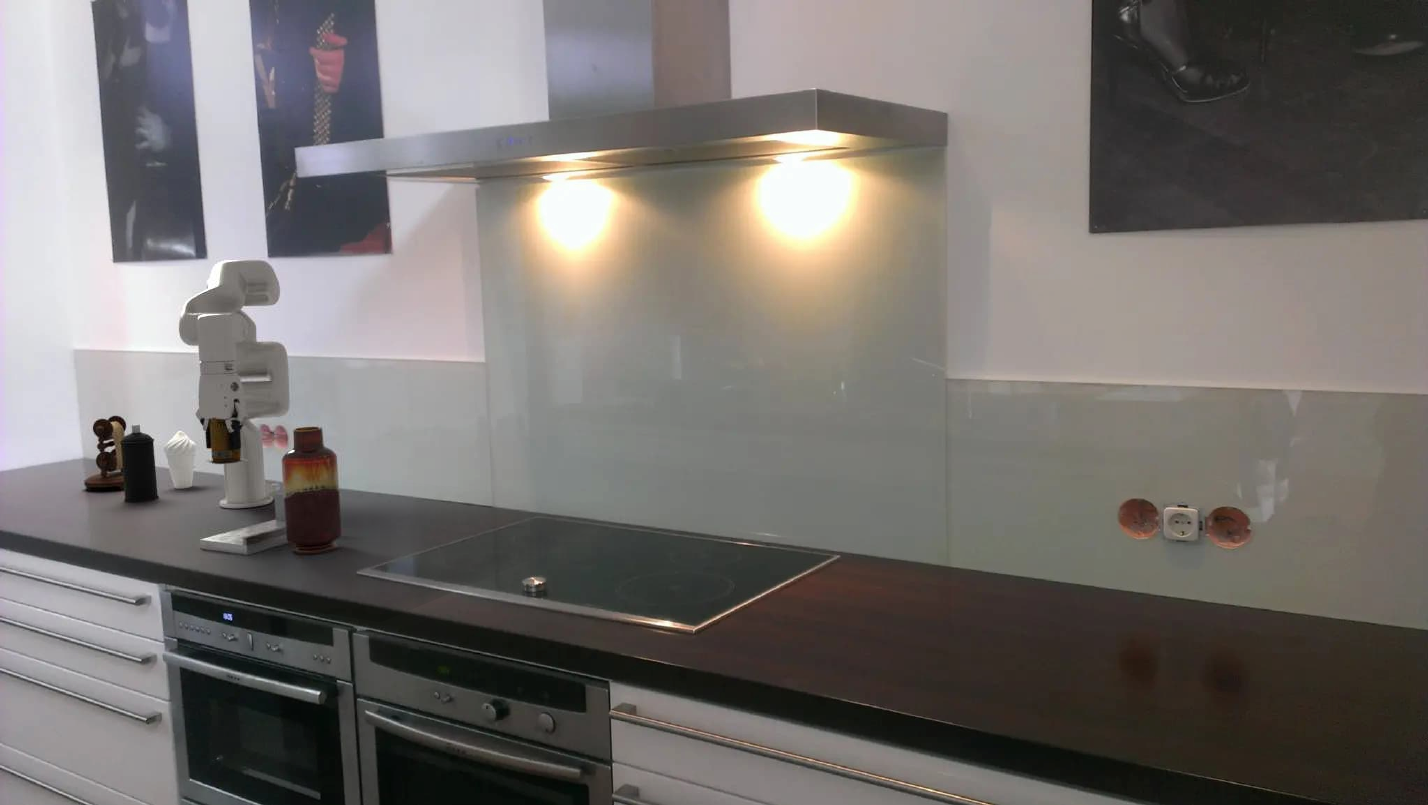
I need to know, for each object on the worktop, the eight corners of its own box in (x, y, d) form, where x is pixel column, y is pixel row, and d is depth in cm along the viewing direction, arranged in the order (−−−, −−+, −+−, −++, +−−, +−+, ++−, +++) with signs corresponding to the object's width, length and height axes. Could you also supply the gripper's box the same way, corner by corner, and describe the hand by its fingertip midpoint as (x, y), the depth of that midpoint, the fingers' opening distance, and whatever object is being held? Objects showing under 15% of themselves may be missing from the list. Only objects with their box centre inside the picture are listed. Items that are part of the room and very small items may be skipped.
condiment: (238, 457, 252) (234, 406, 251) (250, 461, 246) (246, 409, 244) (204, 461, 248) (200, 409, 246) (215, 465, 241) (212, 411, 240)
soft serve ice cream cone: (190, 489, 302) (186, 432, 300) (160, 490, 302) (156, 433, 300) (204, 484, 310) (200, 428, 308) (175, 484, 310) (171, 428, 309)
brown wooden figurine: (126, 492, 301) (120, 420, 298) (73, 492, 301) (67, 421, 298) (154, 481, 315) (149, 413, 313) (103, 482, 315) (97, 414, 313)
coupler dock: (280, 526, 255) (278, 493, 254) (325, 531, 249) (323, 497, 248) (200, 548, 235) (197, 512, 234) (247, 554, 229) (244, 517, 228)
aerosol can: (165, 497, 291) (159, 423, 289) (135, 503, 284) (128, 427, 282) (147, 495, 296) (142, 422, 293) (117, 500, 289) (111, 425, 287)
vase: (275, 553, 230) (267, 431, 227) (312, 541, 240) (305, 424, 237) (317, 557, 226) (309, 433, 223) (353, 545, 236) (346, 425, 233)
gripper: (259, 368, 244) (264, 448, 246) (205, 367, 252) (211, 444, 254) (231, 371, 238) (237, 452, 239) (177, 369, 245) (183, 449, 247)
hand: (223, 447), depth 247 cm, fingers closed on condiment, 6 cm apart
